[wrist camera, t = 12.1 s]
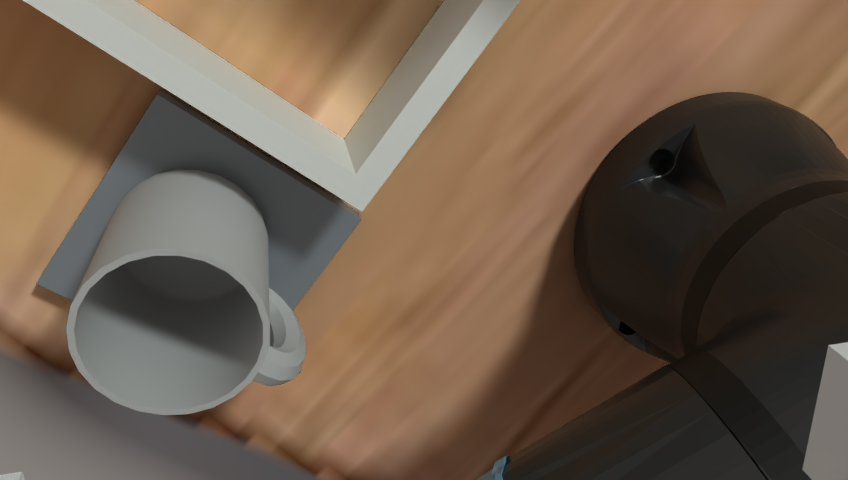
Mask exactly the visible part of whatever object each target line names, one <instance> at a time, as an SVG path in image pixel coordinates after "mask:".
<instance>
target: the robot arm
mask: <svg viewBox="0 0 848 480" xmlns="http://www.w3.org/2000/svg"><path fill="white" fill-rule="evenodd" d="M574 256H575V264H576V269H577V274H578V277H579V280H580V283H581V286H582V288H583V290H584V292H585V294H586V296H587V298H588V299H589V301H590V302H591V304H592V305H593V306H594V307H595V309H596V310H597V311H598V312H599V314H600V315H601V316H602V317H603V319H604V320H605V321H606V322H607V324H608V325H609V326H610V327H611V328H612V329H613V330H614V331H615V332H616V333H617V334H618V335H620V336H621V337H622V338H623V339H625V340H626V341H627V342H629V343H630V344H632V345H634V346H635V347H637V348H639V349H641V350H643V351H645V352H648V353H649V354H651V355H654V356H656V357H658V358H660V359H662V360H664V361H666V362H668V363H671V364H669V365H666V366H664V367H662V368H660V369H659V370H657V371H655V372H654V373H652V374H650V375H648V376H647V377H645V378H643V379H642V380H640V381H638V382H637V383H635V384H633V385H631V386H630V387H628V388H626V389H625V390H623V391H621V392H620V393H618V394H616V395H615V396H613V397H611V398H609V399H608V400H606V401H604V402H603V403H601V404H599V405H598V406H596V407H594V408H592V409H591V410H589V411H587V412H586V413H584V414H582V415H581V416H579V417H577V418H575V419H574V420H572V421H570V422H569V423H567V424H565V425H564V426H562V427H560V428H559V429H557V430H555V431H553V432H552V433H550V434H548V435H547V436H545V437H543V438H542V439H540V440H538V441H536V442H535V443H533V444H531V445H530V446H528V447H526V448H525V449H523V450H521V451H520V452H518V453H516V454H514V455H513V456H510V455H507V456H505V457H503V458H501V459H499V460H496V462H495V464H494V467H493V469H491V470H490V471H488V472H487V473H485V474H484V475H482V476H481V477H479V478H478V479H476V480H848V159H847V158H846V157H845V156H844V155H843V153H842V152H841V151H840V150H839V149H838V148H837V147H836V145H835V143H834V142H833V140H832V139H831V138H830V136H829V135H828V134H827V133H826V132H825V131H824V130H823V129H822V128H821V127H820V126H819V125H817V124H816V123H815V122H814V121H812V120H811V119H809V118H808V117H806V116H805V115H803V114H802V113H800V112H798V111H796V110H794V109H791V108H789V107H786V106H784V105H782V104H779V103H777V102H774V101H772V100H770V99H767V98H764V97H761V96H757V95H753V94H748V93H739V92H722V93H713V94H707V95H702V96H698V97H694V98H691V99H688V100H685V101H682V102H680V103H677V104H675V105H673V106H670V107H668V108H666V109H665V110H663V111H661V112H659V113H657V114H656V115H654V116H652V117H651V118H649V119H648V120H646V121H645V122H644V123H642V124H641V125H640V126H638V127H637V128H636V129H635V130H633V131H632V132H631V133H630V134H629V135H628V136H627V137H625V138H624V139H623V140H622V141H621V142H620V143H619V144H618V146H617V147H616V148H615V149H614V150H613V151H612V152H611V154H610V155H609V156H608V157H607V159H606V160H605V161H604V163H603V164H602V165H601V167H600V168H599V170H598V171H597V173H596V175H595V176H594V178H593V180H592V182H591V184H590V186H589V188H588V190H587V192H586V194H585V197H584V199H583V202H582V205H581V208H580V211H579V215H578V219H577V223H576V229H575V238H574ZM0 480H25V478H24V476H23V473H22V472H17V473H11V474H4V475H0Z"/></svg>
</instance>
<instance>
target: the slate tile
mask: <svg viewBox="0 0 848 480" xmlns="http://www.w3.org/2000/svg"><path fill="white" fill-rule="evenodd" d="M173 170H200V171H204V172H208V173H212V174H216V175H219V176H221V177H223V178H225V179H227V180H229V181H231V182H232V183H234V184H236V185H238V186H239V187H240V188H241V189H242V190H243V191H244V192H245V193H246V194H247V195H249V196H250V197H251V198H252V200H253V201H254V203H255V204H256V206H257V207H258V209H259V210H260V212H261V214H262V216H263V220H264V223H265V226H266V230H267V234H268V255H269V288H270V289H272V290H273V291H274V292H275V293H277V294H278V295H279V296H280V297H281V298H282V299H283V300H284V301H285V303H286V304H287V305H288V306H289V307H290V309H291V310H292V311H293V310H294V309H295V307H296V306H297V305H298V303H299V302H300V301H301V299H302V298H303V297H304V295H305V294H306V293H307V291H308V290H309V289H310V287H311V286H312V285H313V283H314V282H315V281H316V279H317V278H318V277H319V276H320V274H321V273H322V272H323V270H324V269H325V268H326V266H327V265H328V264H329V262H330V261H331V260H332V258H333V257H334V256H335V254H336V253H337V252H338V250H339V249H340V248H341V246H342V245H343V244H344V242H345V241H346V240H347V238H348V237H349V236H350V234H351V233H352V232H353V230H354V229H355V228H356V226H357V225H358V224H359V222H360V221H361V218H360V215H359V212H357V211H356V210H354V209H353V208H351V207H349V206H348V205H346V204H345V203H343V202H341V201H340V200H338V199H337V198H335V197H333V196H332V195H330V194H328V193H327V192H325V191H324V190H322V189H320V188H319V187H317V186H316V185H314V184H312V183H311V182H309V181H308V180H306V179H304V178H303V177H301V176H300V175H298V174H296V173H295V172H293V171H291V170H290V169H288V168H287V167H285V166H283V165H282V164H280V163H279V162H277V161H275V160H274V159H272V158H271V157H269V156H267V155H266V154H264V153H262V152H261V151H259V150H258V149H256V148H254V147H253V146H251V145H250V144H248V143H246V142H245V141H243V140H242V139H240V138H238V137H237V136H235V135H234V134H232V133H230V132H229V131H227V130H225V129H224V128H222V127H221V126H219V125H217V124H216V123H214V122H213V121H211V120H209V119H208V118H206V117H205V116H203V115H201V114H200V113H198V112H197V111H195V110H193V109H192V108H190V107H188V106H187V105H185V104H184V103H182V102H180V101H179V100H177V99H176V98H174V97H172V96H171V95H169V94H168V93H166V92H164V91H163V90H161V89H160V90H159V91H158V93H157V94H156V96H155V98H154V99H153V101H152V102H151V104H150V105H149V107H148V109H147V110H146V112H145V113H144V115H143V116H142V118H141V120H140V121H139V123H138V124H137V126H136V127H135V129H134V130H133V132H132V134H131V135H130V137H129V138H128V140H127V141H126V143H125V145H124V146H123V148H122V149H121V151H120V152H119V154H118V156H117V157H116V159H115V160H114V162H113V163H112V165H111V167H110V168H109V170H108V171H107V173H106V174H105V176H104V177H103V179H102V181H101V182H100V184H99V185H98V187H97V188H96V190H95V192H94V193H93V195H92V196H91V198H90V199H89V201H88V203H87V204H86V206H85V207H84V209H83V210H82V212H81V213H80V215H79V217H78V218H77V220H76V221H75V223H74V224H73V226H72V228H71V229H70V231H69V232H68V234H67V235H66V237H65V239H64V240H63V242H62V243H61V245H60V246H59V248H58V250H57V251H56V253H55V254H54V256H53V257H52V259H51V260H50V262H49V264H48V265H47V267H46V268H45V270H44V271H43V273H42V275H41V276H40V278H39V280H38V282H37V283H36V284H38V285H40V286H42V287H44V288H46V289H48V290H50V291H52V292H54V293H57V294H59V295H61V296H63V297H65V298H67V299H69V300H71V301H73V299H74V297H75V295H76V293H77V291H78V289H79V286H80V284H81V282H82V280H83V278H84V275H85V273H86V271H87V269H88V267H89V265H90V262H91V260H92V258H93V256H94V254H95V252H96V249H97V247H98V245H99V243H100V241H101V239H102V236H103V234H104V232H105V230H106V228H107V225H108V223H109V221H110V219H111V217H112V216H113V214H114V212H115V210H116V209H117V207H118V205H119V203H120V202H121V200H122V199H123V197H124V196H125V195H126V194H128V193H129V192H130V191H131V190H132V189H133V188H134V187H135V186H136V185H137V184H138V183H140V182H142V181H144V180H146V179H148V178H150V177H152V176H154V175H156V174H159V173H164V172H168V171H173Z"/></svg>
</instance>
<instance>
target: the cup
mask: <svg viewBox="0 0 848 480" xmlns="http://www.w3.org/2000/svg"><path fill="white" fill-rule="evenodd" d="M66 332H67V340H68V348H69V352H70V354H71V356H72V358H73V360H74V362H75V364H76V367H77V369H78V371H79V372H80V373H81V374H82V375H83V377H84V378H85V379H86V380H87V381H88V382H89V383H90V384H91V385H92V387H93V388H94V389H96V390H97V391H99V392H100V393H101V394H103V395H105V396H106V397H107V398H109V399H110V400H112V401H113V402H115V403H118V404H120V405H123V406H125V407H128V408H131V409H133V410H136V411H139V412H146V413H152V414H158V415H180V414H191V413H195V412H199V411H202V410H206V409H210V408H213V407H215V406H217V405H219V404H221V403H223V402H225V401H227V400H229V399H231V398H233V397H234V396H236V395H237V394H238V393H239V392H240V391H241V390H243V389H244V388H245V387H246V386H247V385H248V384H250V383H251V382H252V380H253V381H255V382H258V383H261V384H264V385H267V386H274V385H281V384H284V383H286V382H288V381H291V380H293V379H294V378H295V377H296V376H297V375H298V374H299V373H300V371H301V368H302V365H303V362H304V358H305V354H306V341H305V336H304V333H303V330H302V327H301V324H300V323H299V321H298V319H297V317H296V316H295V314H294V312H293V311H292V310H291V309H290V307H289V306H288V305H287V304H286V303H285V301H284V300H283V299H282V298H281V297H280V296H279V295H278V294H277V293H275V292H274V291H273V290H272V289H270V288H269V255H268V234H267V230H266V226H265V223H264V220H263V216H262V214H261V212H260V210H259V209H258V207H257V206H256V204H255V203H254V201H253V200H252V198H251V197H250V196H249V195H247V194H246V193H245V192H244V191H243V190H242V189H241V188H240V187H239V186H238V185H236V184H234V183H232V182H231V181H229V180H227V179H225V178H223V177H221V176H219V175H216V174H212V173H208V172H204V171H200V170H173V171H168V172H164V173H159V174H156V175H154V176H152V177H150V178H148V179H146V180H144V181H142V182H140V183H138V184H137V185H136V186H135V187H134V188H133V189H132V190H131V191H130V192H129V193H128V194H126V195H125V196H124V197H123V199H122V200H121V202H120V203H119V205H118V207H117V209H116V210H115V212H114V214H113V216H112V217H111V219H110V221H109V223H108V225H107V228H106V230H105V232H104V234H103V236H102V239H101V241H100V243H99V245H98V247H97V249H96V252H95V254H94V256H93V258H92V260H91V262H90V265H89V267H88V269H87V271H86V273H85V275H84V278H83V280H82V282H81V284H80V286H79V289H78V291H77V293H76V295H75V297H74V299H73V302H72V304H71V306H70V311H69V316H68V321H67V325H66ZM269 345H270V346H269Z"/></svg>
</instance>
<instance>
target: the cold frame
mask: <svg viewBox="0 0 848 480" xmlns="http://www.w3.org/2000/svg"><path fill="white" fill-rule="evenodd" d="M23 1H25V2H26V3H28V4H30V5H31V6H33V7H34V8H36V9H38V10H39V11H41V12H42V13H44V14H46V15H47V16H49V17H50V18H52V19H54V20H55V21H57V22H58V23H60V24H62V25H63V26H65V27H66V28H68V29H70V30H71V31H73V32H75V33H76V34H78V35H79V36H81V37H83V38H84V39H86V40H87V41H89V42H91V43H92V44H94V45H95V46H97V47H99V48H100V49H102V50H103V51H105V52H107V53H108V54H110V55H111V56H113V57H115V58H116V59H118V60H119V61H121V62H123V63H124V64H126V65H127V66H129V67H131V68H132V69H134V70H135V71H137V72H139V73H140V74H142V75H144V76H145V77H147V78H148V79H150V80H152V81H153V82H155V83H156V84H158V85H160V86H161V87H163V88H164V89H166V90H168V91H169V92H171V93H172V94H174V95H176V96H177V97H179V98H180V99H182V100H184V101H185V102H187V103H188V104H190V105H192V106H193V107H195V108H196V109H198V110H200V111H201V112H203V113H204V114H206V115H208V116H209V117H211V118H213V119H214V120H216V121H217V122H219V123H221V124H222V125H224V126H225V127H227V128H229V129H230V130H232V131H233V132H235V133H237V134H238V135H240V136H241V137H243V138H245V139H246V140H248V141H249V142H251V143H253V144H254V145H256V146H257V147H259V148H261V149H262V150H264V151H265V152H267V153H269V154H270V155H272V156H274V157H275V158H277V159H278V160H280V161H282V162H283V163H285V164H286V165H288V166H290V167H291V168H293V169H294V170H296V171H298V172H299V173H301V174H302V175H304V176H306V177H307V178H309V179H310V180H312V181H314V182H315V183H317V184H318V185H320V186H322V187H323V188H325V189H326V190H328V191H330V192H331V193H333V194H334V195H336V196H338V197H339V198H341V199H343V200H344V201H346V202H347V203H349V204H351V205H352V206H354V207H355V208H357V209H359V210H360V211H363V210H364V209H365V207H366V206H367V205H368V203H369V202H370V201H371V199H372V198H373V197H374V195H375V194H376V193H377V191H378V190H379V189H380V187H381V186H382V185H383V183H384V182H385V181H386V179H387V178H388V177H389V175H390V174H391V173H392V171H393V170H394V169H395V167H396V166H397V165H398V163H399V162H400V161H401V159H402V158H403V157H404V155H405V154H406V153H407V151H408V150H409V149H410V147H411V146H412V145H413V143H414V142H415V141H416V139H417V138H418V137H419V135H420V134H421V133H422V131H423V130H424V129H425V127H426V126H427V125H428V123H429V122H430V121H431V119H432V118H433V117H434V115H435V114H436V113H437V111H438V110H439V109H440V107H441V106H442V105H443V103H444V102H445V101H446V99H447V98H448V97H449V95H450V94H451V93H452V91H453V90H454V89H455V87H456V86H457V85H458V83H459V82H460V81H461V79H462V78H463V77H464V75H465V74H466V73H467V71H468V70H469V69H470V67H471V66H472V65H473V63H474V62H475V61H476V59H477V58H478V57H479V55H480V54H481V53H482V51H483V50H484V49H485V47H486V46H487V45H488V43H489V42H490V41H491V39H492V38H493V37H494V35H495V34H496V33H497V31H498V30H499V29H500V27H501V26H502V25H503V23H504V22H505V21H506V19H507V18H508V17H509V15H510V14H511V13H512V11H513V10H514V9H515V7H516V6H517V5H518V3H519V2H520V1H521V0H444V1H443V3H442V4H441V6H440V7H439V8H438V10H437V11H436V13H435V14H434V15H433V17H432V18H431V19H430V21H429V22H428V24H427V25H426V26H425V28H424V29H423V31H422V32H421V33H420V35H419V36H418V38H417V39H416V40H415V42H414V43H413V44H412V46H411V47H410V49H409V50H408V51H407V53H406V54H405V56H404V57H403V58H402V60H401V61H400V62H399V64H398V65H397V67H396V68H395V69H394V71H393V72H392V74H391V75H390V76H389V78H388V79H387V80H386V82H385V83H384V85H383V86H382V87H381V89H380V90H379V92H378V93H377V94H376V96H375V97H374V98H373V100H372V101H371V103H370V104H369V105H368V107H367V108H366V110H365V111H364V112H363V114H362V115H361V116H360V118H359V119H358V121H357V122H356V123H355V125H354V126H353V128H352V129H351V130H350V132H349V133H348V134H347V136H346V137H345V139H343V138H341V137H340V136H338V135H337V134H335V133H334V132H332V131H331V130H329V129H328V128H326V127H325V126H323V125H322V124H320V123H319V122H317V121H316V120H314V119H313V118H311V117H310V116H308V115H307V114H305V113H304V112H302V111H301V110H299V109H298V108H296V107H295V106H293V105H292V104H290V103H289V102H287V101H286V100H284V99H283V98H281V97H280V96H278V95H277V94H275V93H274V92H272V91H270V90H269V89H267V88H266V87H264V86H263V85H261V84H260V83H258V82H257V81H255V80H254V79H252V78H251V77H249V76H248V75H246V74H245V73H243V72H242V71H240V70H239V69H237V68H236V67H234V66H233V65H231V64H230V63H228V62H227V61H225V60H224V59H222V58H221V57H219V56H218V55H216V54H215V53H213V52H212V51H210V50H209V49H207V48H206V47H204V46H203V45H201V44H200V43H198V42H197V41H195V40H194V39H192V38H191V37H189V36H188V35H186V34H185V33H183V32H181V31H180V30H178V29H177V28H175V27H174V26H172V25H171V24H169V23H168V22H166V21H165V20H163V19H162V18H160V17H159V16H157V15H156V14H154V13H153V12H151V11H150V10H148V9H147V8H145V7H144V6H142V5H141V4H139V3H138V2H136V1H135V0H23Z"/></svg>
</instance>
